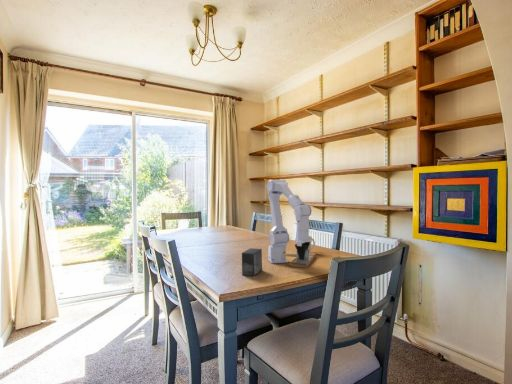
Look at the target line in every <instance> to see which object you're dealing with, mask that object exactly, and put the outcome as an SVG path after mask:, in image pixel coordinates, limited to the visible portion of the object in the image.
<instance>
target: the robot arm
mask: <svg viewBox="0 0 512 384" xmlns="http://www.w3.org/2000/svg"><path fill="white" fill-rule="evenodd" d="M288 183H289V182H287V181H286V180H285V179H269V180H268V181H267V183H266V191H267V196H268V199H269V206H270V212H271V214H270V215H271V220H272V221H271V222H272V228H271V229H270V230H269V235H268V236H269V237H268V239H269V240H268V241H269V243H270V244H271V245H270V244H269V245H268V247H267V248H268V249H267V250H268V251H267V252H268V253H267V255H268V256H267V257H268V258H267V261H268V262H270V264H285V263H289V260H287V256H282V253H283V251H285V253H287V245H288V244H289V242H290V235H289V233H288V229H287V228H286V227H285V226H284V225H283V218H282V212H281V204H280V197H281V196H285V197H286V198H287V203H288V204H289V206H291V208H292V209H293V213H294V216H295V221H296V243H295V244H294V247H295V248H296V253H297V252H298V256H299V259H301V260H304V257H305V251H306V249H307V250H308V247H309V245H310V242H308V241H311V239H309V236H310V223H309V222H310V216H311V215H312V208H311V205H310V204H308V203H305V201H303V200H302V199H301V198H300V196H299V195H298V194H294V193H293V192H292V190H291V189H290V188H289V186H288V185H289V184H288ZM311 242H312V241H311Z"/></svg>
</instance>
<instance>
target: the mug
mask: <svg viewBox="0 0 512 384" xmlns="http://www.w3.org/2000/svg"><path fill="white" fill-rule="evenodd" d="M309 239H311V241H308V242H310V245H309V247H308V250H309V253H311V250H313V249H314V248H315V245H316V241H315V239H314V238H313V237H312V236H311V235H309ZM311 246H312V247H311Z"/></svg>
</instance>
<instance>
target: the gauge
mask: <svg viewBox="0 0 512 384" xmlns="http://www.w3.org/2000/svg"><path fill="white" fill-rule="evenodd" d="M282 256H286V257H291V258H296V257H297V263H301V264H308V263H309V250H307V249H306V251H305V257H304V260H301V259H299V256H298V252H297V251H296V253H287V252H286V253H285V251H283V253H282Z"/></svg>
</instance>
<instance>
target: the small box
mask: <svg viewBox="0 0 512 384" xmlns="http://www.w3.org/2000/svg"><path fill="white" fill-rule="evenodd" d="M262 250H263V249H262V248H252V247H250V248H248V249H246V250H245V251H242V252H241V272H242V273H241V275H242V276H247V277H256V276H257V275H258V274H259V273H261V272H262V271H263V252H262Z"/></svg>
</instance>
